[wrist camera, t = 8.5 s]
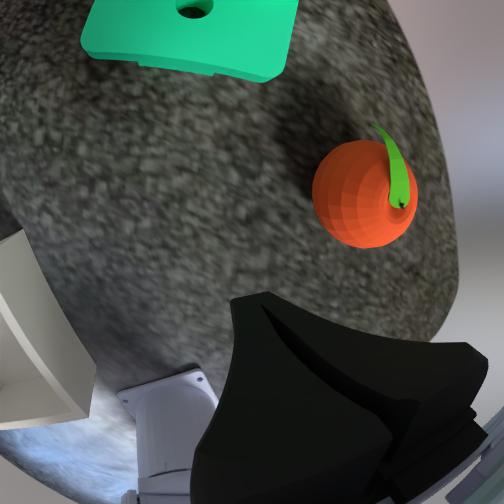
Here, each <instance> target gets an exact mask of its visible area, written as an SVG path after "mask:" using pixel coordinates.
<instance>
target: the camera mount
mask: <svg viewBox="0 0 504 504" xmlns="http://www.w3.org/2000/svg"><path fill="white" fill-rule="evenodd" d="M298 1H299V0H95V1H94V4H93V6H92V8H91V11H90V13H89V16H88V18H87V21H86V24H85V26H84V29H83V32H82V35H81V38H80V42H81V45H82V47H83V48H84V50H85V51H86V52H87V53H88V55H89V56H91V57H92V58H95V59H109V60H126V61H138V64H139V65H140V66H150V67H159V68H167V69H174V70H181V71H187V72H193V73H199V74H204V75H210V76H213V74H214V73H219V74H224V75H229V76H233V77H237V78H242V79H246V80H250V81H254V82H259V83H262V82H267V81H269V80H270V79H272V78H274V77H276V76H277V75H279V74H280V73H281V72H282V71H283V69H284V67H285V62H286V58H287V53H288V48H289V43H290V39H291V34H292V29H293V25H294V20H295V15H296V11H297V6H298ZM187 7H196V8H199V9H201V10H202V11H204V12H205V14H206V16H205V17H202V18H198V19H189V18H186V17H183V16H182V15H180V14H179V13H178V11H180V10H181V9H183V8H187Z"/></svg>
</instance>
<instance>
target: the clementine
mask: <svg viewBox="0 0 504 504" xmlns="http://www.w3.org/2000/svg"><path fill="white" fill-rule="evenodd" d="M371 124H372V123H371ZM372 125H373V126H374V127H376V128H377V129H378V130H379V131H380V133H381V135H382V137H383V139H384V141H385V144H386V145H384V144H382V143H379V142H375V141H369V140H358V141H353V142H348V143H344V144H342V145H340V146H338V147H336V148H335V149H333V150H332V151H331V152H330V153H329V154H328V155H327V156H326V157H325V158H324V159H323V160H322V161H321V163H320V165H319V167H318V168H317V170H316V172H315V176H314V180H313V183H312V198H313V203H314V208H315V211H316V214H317V216H318V218H319V220H320V222H321V224H322V225H323V226H324V227H325V228H326V229H327V231H328V232H329V233H330V234H331V235H333V236H334V237H335V238H336V239H338V240H340V241H341V242H343V243H345V244H348V245H351V246H355V247H359V248H371V247H379V246H383V245H386V244H388V243H390V242H392V241H393V240H395V239H396V238H398V237H399V236H400V235H401V234H402V233H404V231H405V230H406V229H407V228H408V226H409V225H410V223H411V221H412V219H413V217H414V214H415V211H416V207H417V199H418V193H417V185H416V181H415V178H414V175H413V173H412V171H411V169H410V167H409V166H408V164H407V162H406V161H405V160H404V159H403V158H402V156H401V154H400V152H399V150H398V148H397V146H396V145H395V143H394V141H393V140H392V139H391V138H390V136H389V135H388V134H387V133H386V132H385V131H384V130H383V129H381V128H379V127H378V126H376V125H374V124H372Z"/></svg>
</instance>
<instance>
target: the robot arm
mask: <svg viewBox="0 0 504 504" xmlns="http://www.w3.org/2000/svg"><path fill="white" fill-rule="evenodd" d="M230 307H231V315H232V322H233V329H234V337H235V338H234V347H233V354H232V360H231V365H230V369H229V373H228V376H227V380H226V383H225V387H224V390H223V393H222V395H221V398H220V400H218V398H217V396H216V394H215V393H214V391H213V389H212V387H211V385H210V383H209V381H208V380H207V378H206V376H205V374H204V372H203V370H202V369H199V368H197V369H193V370H190V371H187V372H184V373H181V374H178V375H174V376H171V377H168V378H165V379H161V380H158V381H155V382H151V383H148V384H144V385H141V386H137V387H134V388H130V389H126V390H123V391H119V392H118V393H117V398H118V400H119V401H120V402H121V403H122V405H123V406H124V407H125V408H126V409H127V411H128V412H129V413H130V414H131V415H132V417H133V418H134V419H135V420H136V437H137V459H138V474H139V478H138V490H139V494H136V490H128V491H127V493H125V494H124V495H123V496H122V498H121V504H421V503H422V502H424V501H425V500H427V499H428V498H430V497H431V496H433V495H434V494H435V493H437V492H438V491H439V490H440V489H442V488H443V487H445V486H446V485H447V484H448V483H450V482H451V481H452V480H453V479H454V478H456V477H457V476H458V475H459V474H461V473H462V472H463V471H464V470H465V469H466V468H468V467H469V466H470V465H471V464H472V463H473V462H474V461H475V460H476V459H477V458H478V457H480V456H481V461H480V462H479V463H478V464H477V465H476V466H475V467H474V468H473V469H472V470H471V472H470V473H469V474H468V475H467V476H466V477H465V478H464V479H463V480H462V481H461V482H460V483H459V484H458V485H457V486H456V487H455V488H454V489H453V490H451V491H450V492H449V493H448V494H447V495H446V497H445V499H446V500H447V501H448V502H449V504H504V407H503V408H502V409H501V410H500V411H499V412H498V413H497V414H496V415H495V416H494V417H493V418H492V419H491V420H490V421H489V422H488V423H487V424H486V425H485V426H483V428H481V427H480V426H479V425H478V424H477V423H476V422H475V421H474V420H473V419H474V418H475V417H476V416H477V414H476V412H475V411H474V410H473V409H472V408H471V407H470V406H471V404H472V402H473V401H474V399H475V397H476V395H477V393H478V391H479V390H480V388H481V386H482V384H483V382H484V379H485V377H486V375H487V371H488V359H487V358H486V357H485V356H483V355H482V354H481V353H480V352H478V351H477V350H476V349H475V348H473V347H472V346H471V345H469V344H468V343H467V342H451V343H449V342H447V343H431V342H417V341H407V340H399V339H393V338H387V337H382V336H377V335H373V334H368V333H364V332H361V331H358V330H354V329H351V328H348V327H344V326H342V325H339V324H336V323H334V322H331V321H329V320H326V319H324V318H321V317H319V316H317V315H314V314H312V313H310V312H308V311H306V310H304V309H302V308H300V307H298V306H296V305H294V304H292V303H290V302H288V301H286V300H284V299H282V298H280V297H279V296H277V295H275V294H273V293H271V292H268V291H267V292H262V293H258V294H253V295H248V296H243V297H238V298H234V299H232V300H231V302H230ZM199 377H202V378H200V379H198V378H199ZM124 399H126V400H124Z"/></svg>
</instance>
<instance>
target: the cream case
mask: <svg viewBox="0 0 504 504" xmlns="http://www.w3.org/2000/svg"><path fill="white" fill-rule="evenodd" d="M96 370H97V365H96V364H95V362H94V361H93V359H92V358H91V356H90V355H89V353H88V352H87V350H86V349H85V347H84V346H83V344H82V343H81V341H80V339H79V338H78V336H77V335H76V333H75V331H74V330H73V328H72V326H71V325H70V323H69V321H68V320H67V318H66V316H65V314H64V313H63V311H62V309H61V307H60V306H59V304H58V302H57V300H56V298H55V296H54V294H53V293H52V291H51V289H50V287H49V285H48V283H47V281H46V279H45V277H44V275H43V273H42V271H41V268H40V266H39V264H38V262H37V260H36V258H35V255H34V253H33V251H32V249H31V246H30V244H29V241H28V239H27V237H26V234H25V232H24V229H22V230H20V231H18V232H16V233H14V234H13V235H11V236H9V237H7V238H5V239H3V240H2V241H0V430H7V429H17V428H26V427H35V426H42V425H49V424H56V423H62V422H68V421H73V420H79V419H84V418H89V412H90V405H91V398H92V392H93V386H94V381H95V375H96Z"/></svg>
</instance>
